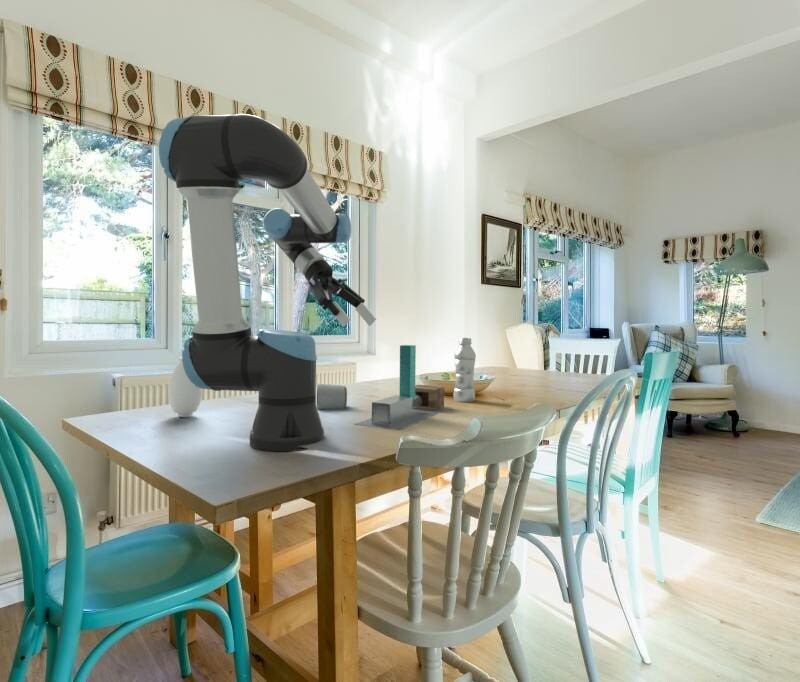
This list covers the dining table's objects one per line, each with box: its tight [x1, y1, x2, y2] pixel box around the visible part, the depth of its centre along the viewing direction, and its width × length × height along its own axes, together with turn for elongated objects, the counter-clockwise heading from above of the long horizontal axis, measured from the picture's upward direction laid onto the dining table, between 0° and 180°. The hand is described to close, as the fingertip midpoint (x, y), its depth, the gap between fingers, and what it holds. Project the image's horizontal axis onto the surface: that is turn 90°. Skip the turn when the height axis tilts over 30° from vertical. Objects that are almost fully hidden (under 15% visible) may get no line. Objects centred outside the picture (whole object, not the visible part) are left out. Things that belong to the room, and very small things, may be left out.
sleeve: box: [371, 394, 412, 426], centre depth 124 cm, size 12×5×5 cm, turn 153°
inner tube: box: [399, 344, 422, 409], centre depth 129 cm, size 17×3×17 cm, turn 153°
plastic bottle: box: [452, 337, 477, 403], centre depth 154 cm, size 6×7×20 cm
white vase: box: [167, 348, 202, 418], centre depth 131 cm, size 8×8×18 cm
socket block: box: [413, 384, 445, 411], centre depth 142 cm, size 6×8×6 cm
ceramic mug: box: [316, 383, 348, 410], centre depth 143 cm, size 11×8×8 cm
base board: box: [354, 406, 452, 431], centre depth 131 cm, size 32×12×1 cm, turn 153°
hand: (360, 322), depth 137 cm, fingers open, 13 cm apart
